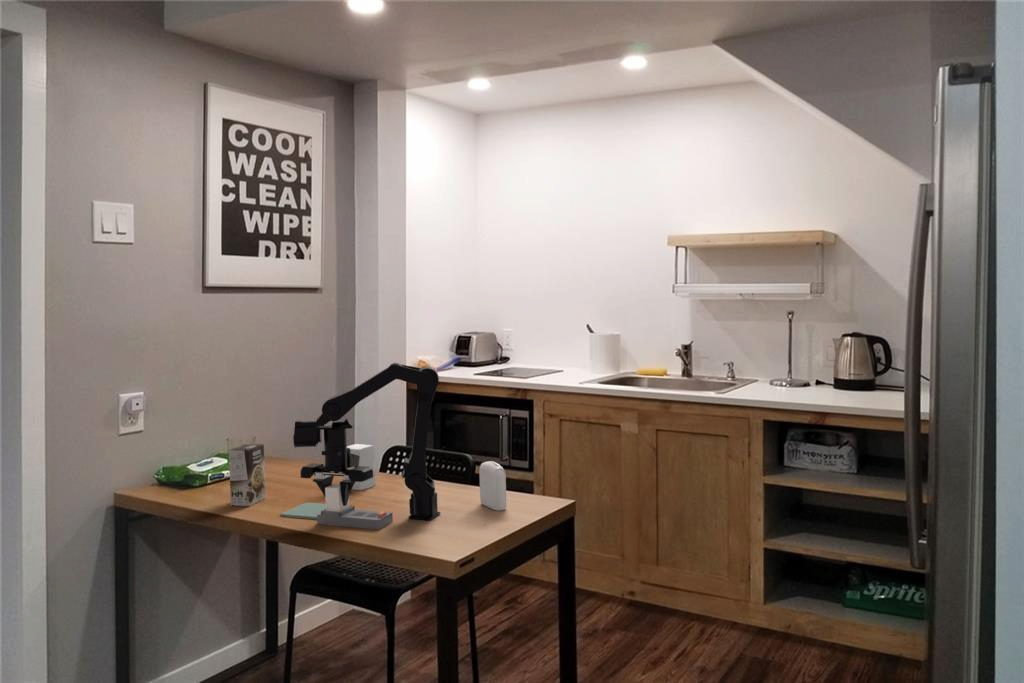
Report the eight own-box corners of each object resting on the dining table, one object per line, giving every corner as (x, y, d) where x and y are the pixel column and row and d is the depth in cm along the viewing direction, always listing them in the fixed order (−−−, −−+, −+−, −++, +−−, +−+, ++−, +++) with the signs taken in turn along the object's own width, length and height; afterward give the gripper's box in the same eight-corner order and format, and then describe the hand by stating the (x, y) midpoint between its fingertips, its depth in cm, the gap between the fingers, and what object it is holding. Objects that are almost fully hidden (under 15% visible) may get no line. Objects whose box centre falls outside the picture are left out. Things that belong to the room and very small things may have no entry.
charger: (349, 510, 211) (348, 483, 211) (339, 515, 207) (338, 488, 206) (336, 509, 213) (335, 482, 212) (326, 514, 208) (325, 487, 207)
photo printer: (478, 503, 224) (477, 459, 223) (492, 501, 226) (491, 457, 225) (494, 512, 215) (493, 466, 214) (508, 509, 217) (507, 464, 216)
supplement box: (376, 485, 248) (375, 445, 247) (360, 491, 241) (358, 449, 241) (358, 483, 251) (356, 443, 251) (341, 488, 245) (340, 447, 244)
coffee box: (251, 506, 226) (248, 450, 225) (230, 506, 228) (227, 449, 227) (267, 498, 235) (264, 443, 234) (247, 497, 237) (244, 443, 236)
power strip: (392, 521, 208) (392, 508, 208) (378, 529, 202) (378, 516, 201) (332, 516, 214) (332, 503, 214) (317, 523, 208) (316, 510, 208)
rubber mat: (343, 507, 223) (343, 505, 223) (318, 519, 212) (318, 517, 212) (306, 504, 227) (306, 502, 227) (280, 516, 216) (280, 513, 216)
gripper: (382, 441, 213) (384, 499, 214) (322, 438, 219) (324, 494, 220) (360, 449, 202) (363, 510, 203) (298, 446, 209) (300, 505, 210)
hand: (337, 504), depth 209 cm, fingers closed on charger, 4 cm apart
